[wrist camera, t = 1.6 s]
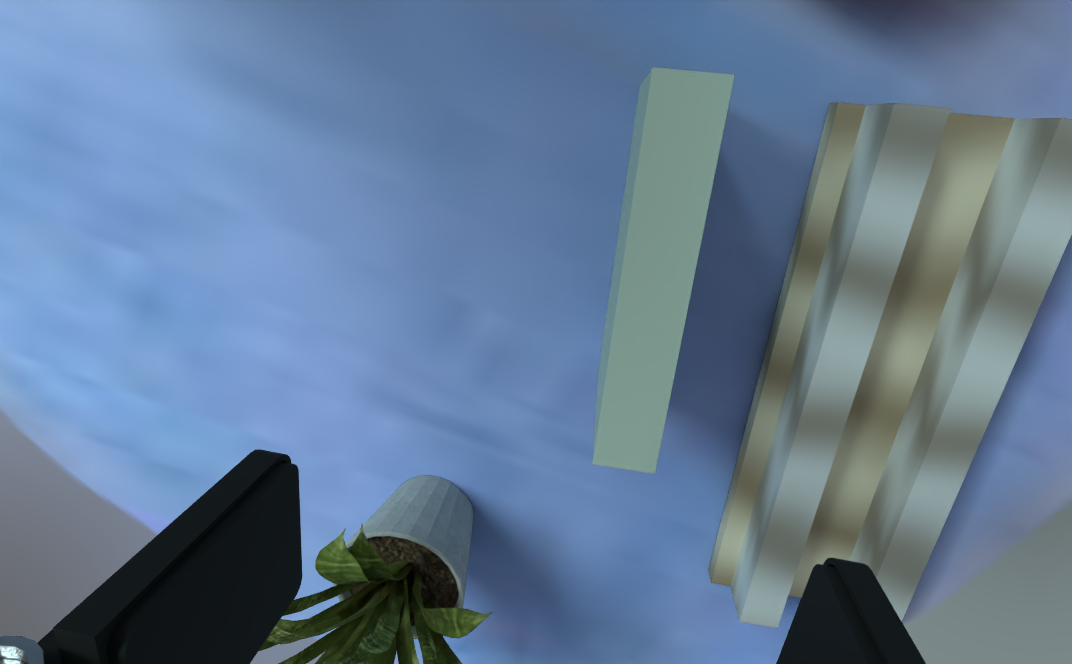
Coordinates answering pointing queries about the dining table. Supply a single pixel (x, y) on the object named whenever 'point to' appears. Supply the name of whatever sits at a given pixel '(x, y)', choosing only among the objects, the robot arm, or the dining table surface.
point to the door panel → (656, 259)
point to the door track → (890, 343)
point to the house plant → (392, 583)
